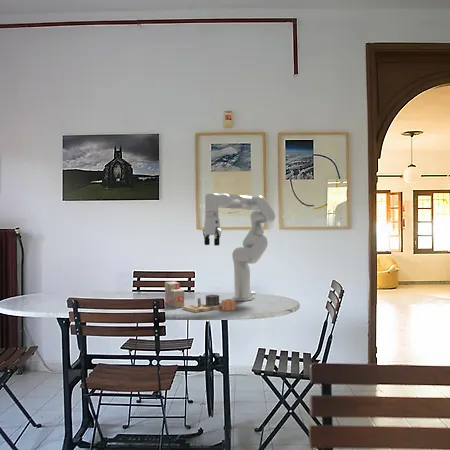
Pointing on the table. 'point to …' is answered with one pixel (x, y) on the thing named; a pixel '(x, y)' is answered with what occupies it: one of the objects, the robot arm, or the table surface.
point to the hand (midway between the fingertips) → (211, 245)
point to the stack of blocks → (174, 294)
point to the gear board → (205, 304)
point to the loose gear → (228, 304)
